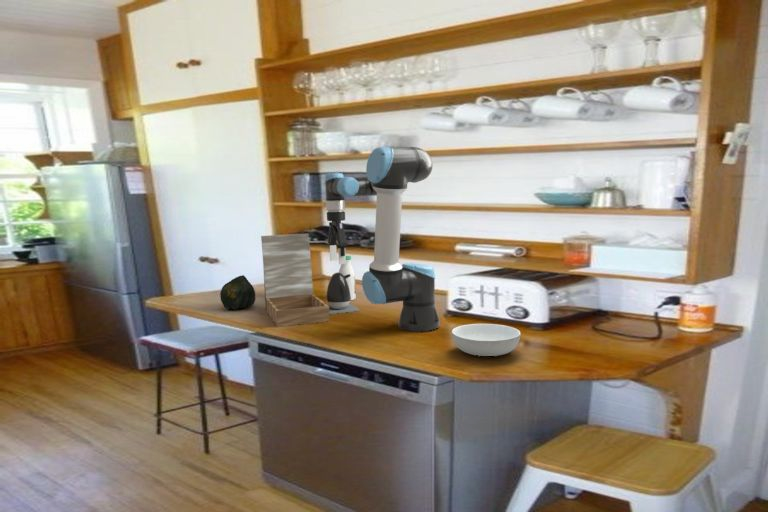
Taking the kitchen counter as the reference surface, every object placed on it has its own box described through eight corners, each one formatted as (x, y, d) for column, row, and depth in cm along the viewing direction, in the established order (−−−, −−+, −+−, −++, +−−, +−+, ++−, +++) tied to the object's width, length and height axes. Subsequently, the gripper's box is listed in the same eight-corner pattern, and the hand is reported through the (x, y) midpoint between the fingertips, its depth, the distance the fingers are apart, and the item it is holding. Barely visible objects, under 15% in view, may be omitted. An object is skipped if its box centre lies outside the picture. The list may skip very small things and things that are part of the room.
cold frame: (329, 321, 216) (326, 239, 212) (277, 327, 209) (273, 242, 205) (310, 305, 246) (307, 233, 241) (264, 309, 239) (260, 235, 234)
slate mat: (360, 311, 232) (360, 309, 232) (327, 314, 227) (327, 313, 227) (350, 304, 245) (350, 303, 245) (318, 307, 240) (318, 306, 240)
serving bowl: (532, 350, 174) (533, 329, 173) (497, 368, 158) (497, 344, 157) (475, 339, 187) (475, 319, 186) (438, 354, 172) (437, 332, 171)
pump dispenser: (350, 310, 230) (349, 274, 228) (325, 311, 231) (324, 274, 229) (352, 305, 240) (351, 270, 238) (328, 305, 241) (327, 270, 239)
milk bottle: (353, 301, 251) (351, 257, 248) (336, 301, 253) (335, 257, 250) (357, 297, 259) (356, 255, 256) (341, 297, 260) (340, 254, 257)
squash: (207, 298, 238) (227, 272, 234) (227, 292, 252) (246, 268, 248) (230, 321, 236) (250, 296, 232) (249, 314, 250) (268, 290, 246)
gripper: (353, 211, 220) (355, 265, 222) (336, 210, 243) (338, 258, 246) (335, 212, 217) (337, 266, 220) (319, 210, 241) (321, 259, 243)
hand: (337, 262), depth 233 cm, fingers open, 13 cm apart
